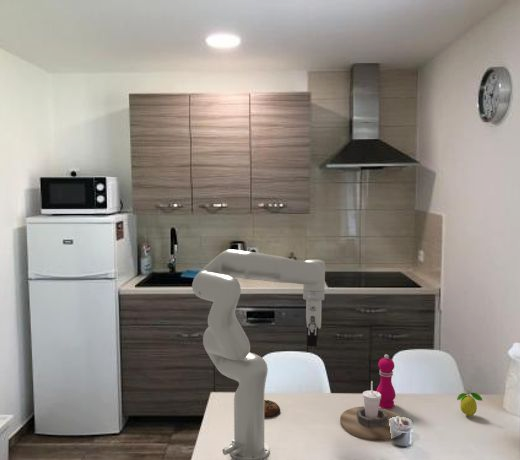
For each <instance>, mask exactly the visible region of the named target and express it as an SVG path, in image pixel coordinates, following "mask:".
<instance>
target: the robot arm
mask: <svg viewBox="0 0 520 460" xmlns="http://www.w3.org/2000/svg"><path fill="white" fill-rule="evenodd" d="M237 278H239V279H245V280H252V281H263V282H271V283H272V282H273V283H280V284H281V283H284V284H297V285H302V286H303V290H302V291H303V293H302V298H303V300H305V301H306V303H305V307H306V309H305V314H306V315H305V318H306V319H305V320H306V328H308V330H307V331H308V333H307V346H308V347H317V346H318V345H317V344H318V337H319V336H318V335H319V334H318V333H319V332H318V331H319V330H318V329H321V328H322V301H324V300H325V288H326V287H325V284H326V283H325V281H326V280H325V279H326V263H325V261H324V260H321V259H307V260H297V259H292V258H288V257H284V256H281V255H275V254H268V253H261V252H255V251H249V250H239V249H230V248H229V249H226V250H223V251H222V252H221V253H219V254H218V255H217V256H216V257H214V258H213V259H212V260H210V262H209V263H207V264H206V265H205V266H204V267H203V268H202V269H201V270H199V271H198V273H196V275H195V277H194V278H193V281H192V284H191V288H192V291H193V293H194V295H195V296H196V297H197V298H200V299H202V300H205V301H209V302H212V305H211V308H210V310H209V313H208V317H207V326H208V327H206V329H205V331H204V333H203V335H202V336H203V337H202V345H203V347H204V350H205V352H206V354H207V355H208V357H209V358H210V360H211V361H212V363H213V365H214V366H215V367H216V369H217V370H218V371H219V373H220V375H222V376H225V377H227V378H229V379H231V380H233V381H235V382H238V386H237V389H236V391H235V393H234V397H233V411H234V412H233V415H234V416H233V417H234V418H233V421H234V423H233V427H234V428H233V431H234V438H233V439H231V443H230V444H229V446H227V447H224V448H223V449H222V451H221V452H222V454H223V455H224V456H226V455H229V454H230V456H231V457H232V458H234V459H235V460H263V459H265V458H266V457H267V456H268V455H269V453H270V445H269V444H268V443H267V442H266V441H265V417H264V400H265V392H266V390H265V389H266V382H267V376H268V369H269V368H268V364H267V362H266V360H265V359H264V358H263V357H261V356H260V355H258V354H256V353H254V352H251V351H250V350H251V344H250V340H249V338H248V336H247V334H246V332H245V330H244V329H243V326H242V325H241V324H240V322H239V320H238V318H237V315H236V309H237V305H238V303H239V300H240V296H241V291H242V289H241V285H240V282H239V281H238V279H237Z"/></svg>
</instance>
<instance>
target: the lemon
mask: <svg viewBox="0 0 520 460" xmlns="http://www.w3.org/2000/svg"><path fill="white" fill-rule="evenodd" d="M470 394H471V395H470ZM456 400H457V401H460V404H459V405H460V411H461V412H462V414H464V415H466V416H467V417H470V416H473V415H474V414H476V412H477V409H478V407H477V402H476V400H477V401H481V402H482V401H483V398H482V397H481V395H480V394H478V393H477V392H470V391H469V392H468V393H465V392H462V393H460V394H459V395H458V396H457V398H456Z"/></svg>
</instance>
